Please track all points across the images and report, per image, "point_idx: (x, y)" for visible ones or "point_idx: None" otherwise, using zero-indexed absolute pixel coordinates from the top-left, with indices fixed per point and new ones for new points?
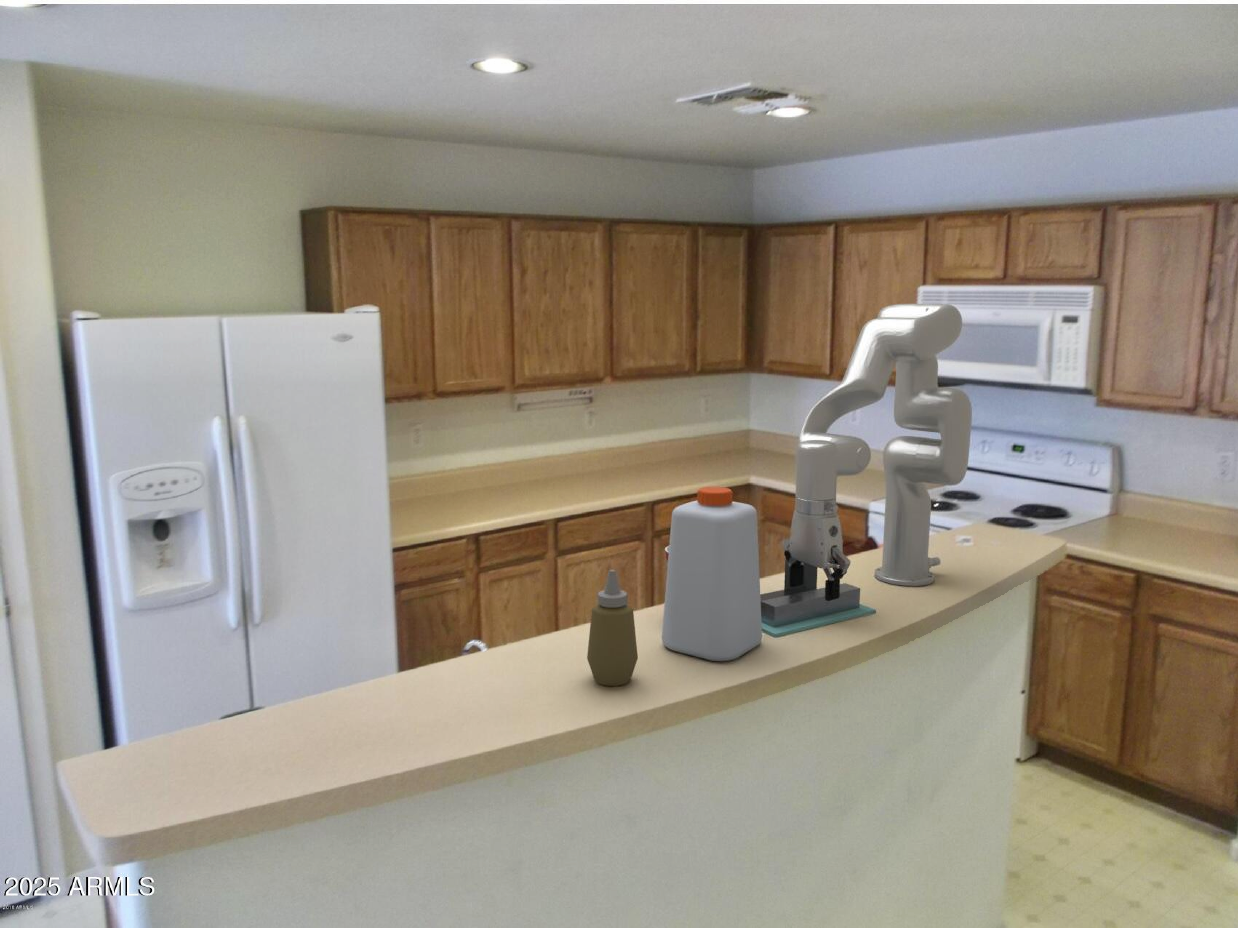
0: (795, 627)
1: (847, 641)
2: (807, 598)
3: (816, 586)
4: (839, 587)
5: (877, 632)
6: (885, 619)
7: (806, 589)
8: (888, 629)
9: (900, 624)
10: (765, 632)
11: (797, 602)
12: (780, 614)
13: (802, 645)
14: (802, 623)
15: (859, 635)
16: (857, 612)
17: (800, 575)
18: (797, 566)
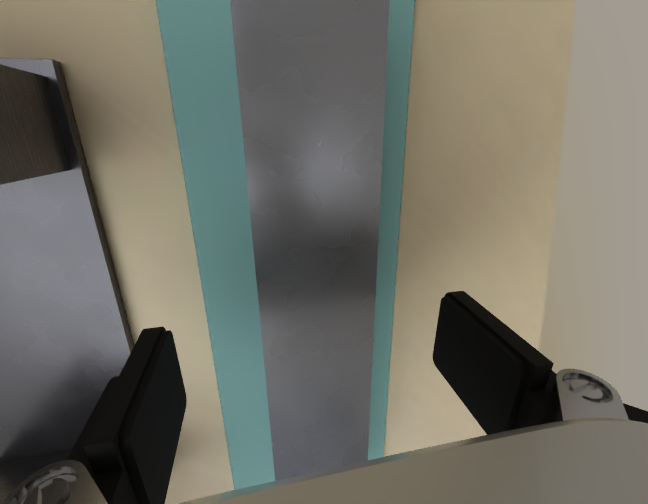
0: (375, 409)
1: (517, 322)
2: (355, 400)
3: (4, 68)
4: (499, 322)
5: (540, 187)
6: (489, 26)
7: (40, 170)
8: (553, 124)
9: (561, 23)
10: None
11: (367, 452)
12: None
13: (458, 433)
14: None
15: (515, 260)
16: (390, 103)
17: (159, 399)
18: (131, 496)
